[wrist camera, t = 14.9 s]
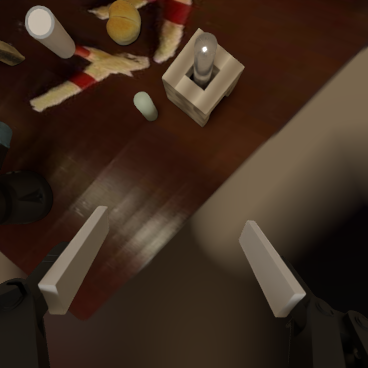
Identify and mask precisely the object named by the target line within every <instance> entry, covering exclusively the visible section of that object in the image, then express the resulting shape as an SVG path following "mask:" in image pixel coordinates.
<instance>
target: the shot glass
mask: <svg viewBox="0 0 368 368" xmlns="http://www.w3.org/2000/svg"><path fill="white" fill-rule="evenodd" d="M25 25H26V28H27V31H28V32H29V33H30V35H31V36H33V37H34V38H36V39H37V40H38V41H40V42H41V43H42V44H44V45H45V46H46V47H48V48H49V49H50V50H52V51H53V52H54V53H56V54H57V55H58V56H60V57H62V58H69V57H71V56H72V55H73V54H74V52H75V44H74V41H73V40H72V39H71V37H70V36H69V35H68V33H67V32H66V31H65V30H64V28H63V27H62V26H61V24H60V23H59V22H58V20H57V19H56V18H55V17H54V15H53V14H52V13H51V11H50V10H49V9H47V8H46V7H44V6H35V7H32V8H31V9H30V10H29V11H28V13H27V15H26V20H25Z"/></svg>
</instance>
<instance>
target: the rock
mask: <svg viewBox="0 0 368 368" xmlns="http://www.w3.org/2000/svg"><path fill="white" fill-rule="evenodd" d="M23 60H25V57H24V56H22V55H21V54H20V53H19V52H18V51H17V50H16V49H15V48H14V47H12V46H10V45H9V44H7V43H5V42H2V41H0V61H2V62H4V63H7V64H9V65H11V66H13V65H17V64H19V63H21V62H22V61H23Z"/></svg>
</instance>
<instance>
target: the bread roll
mask: <svg viewBox="0 0 368 368" xmlns="http://www.w3.org/2000/svg"><path fill="white" fill-rule="evenodd" d="M140 25H141V19H140V15H139V12H138V11H137V9H136V8H135V7H134V6H133V5H132V4H130V3H129V2H127V1H124V0H118V1H115V2H114V3H113V4H112V5H111V6H110V8H109V20H108V22H107V31H108V34H109V35H110V37H111V38H112V39H113V40H114V41H115V42H116V43H118V44H120V45H128V44H130V43H132V42H134V41H135V40H136V39H137V37H138V36H139V33H140Z"/></svg>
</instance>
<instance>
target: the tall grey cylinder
mask: <svg viewBox="0 0 368 368" xmlns="http://www.w3.org/2000/svg"><path fill="white" fill-rule="evenodd" d="M216 49H217V40H216V38H215V36H214V35H212V34H211V33H202V34H200V35H199V36H198V37H197V38H196V40H195V46H194V81H193V82H194V83H195V84H196V85H198V86H199V87H200V88H201V89H202V90H203V91H205V89H206V88H207V87H208V86H209V82H210V78H211V73H212V68H213V63H214V58H215V54H216Z"/></svg>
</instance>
